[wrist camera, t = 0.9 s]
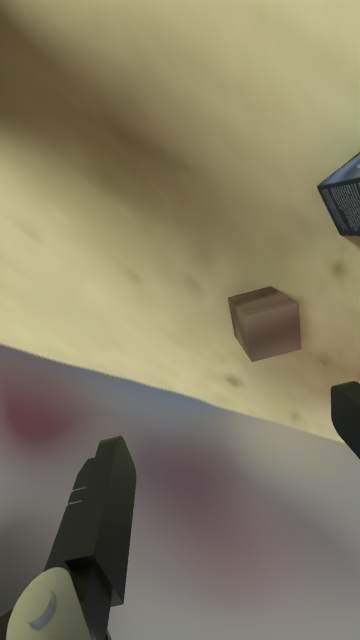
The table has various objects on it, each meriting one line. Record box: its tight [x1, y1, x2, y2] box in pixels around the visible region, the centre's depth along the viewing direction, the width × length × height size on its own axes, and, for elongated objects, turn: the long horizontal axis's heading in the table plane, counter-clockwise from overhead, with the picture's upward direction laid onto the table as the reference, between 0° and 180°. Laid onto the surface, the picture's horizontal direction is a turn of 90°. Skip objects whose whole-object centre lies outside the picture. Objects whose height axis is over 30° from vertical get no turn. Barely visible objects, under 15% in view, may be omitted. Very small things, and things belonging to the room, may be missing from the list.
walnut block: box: [228, 286, 301, 362], centre depth 26 cm, size 5×5×6 cm
